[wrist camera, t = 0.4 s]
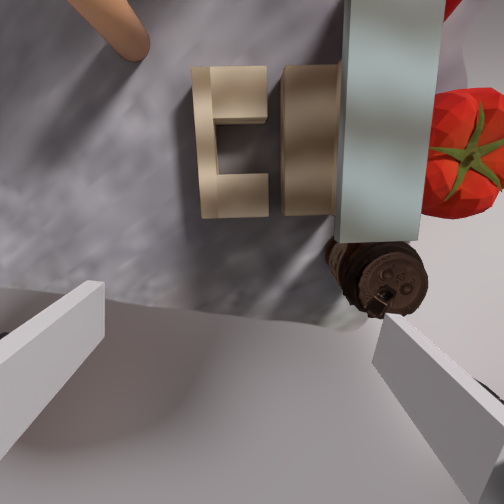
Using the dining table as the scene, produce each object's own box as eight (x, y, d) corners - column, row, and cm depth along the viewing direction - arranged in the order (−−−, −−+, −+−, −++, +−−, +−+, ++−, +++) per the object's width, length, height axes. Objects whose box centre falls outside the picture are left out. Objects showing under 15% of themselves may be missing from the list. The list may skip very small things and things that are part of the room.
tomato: (366, 111, 36) (415, 85, 26) (471, 97, 36) (562, 65, 26) (369, 220, 39) (414, 234, 29) (466, 206, 39) (544, 216, 29)
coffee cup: (321, 288, 41) (357, 336, 29) (308, 234, 39) (339, 260, 27) (381, 271, 41) (442, 312, 29) (370, 215, 39) (431, 233, 26)
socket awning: (196, 79, 34) (143, -38, 16) (338, 76, 35) (450, -40, 16) (205, 214, 38) (172, 249, 20) (333, 210, 39) (417, 240, 20)
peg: (112, 21, 33) (19, -90, 19) (148, 21, 33) (81, -90, 19) (117, 62, 34) (33, -17, 20) (152, 61, 34) (91, -18, 20)
